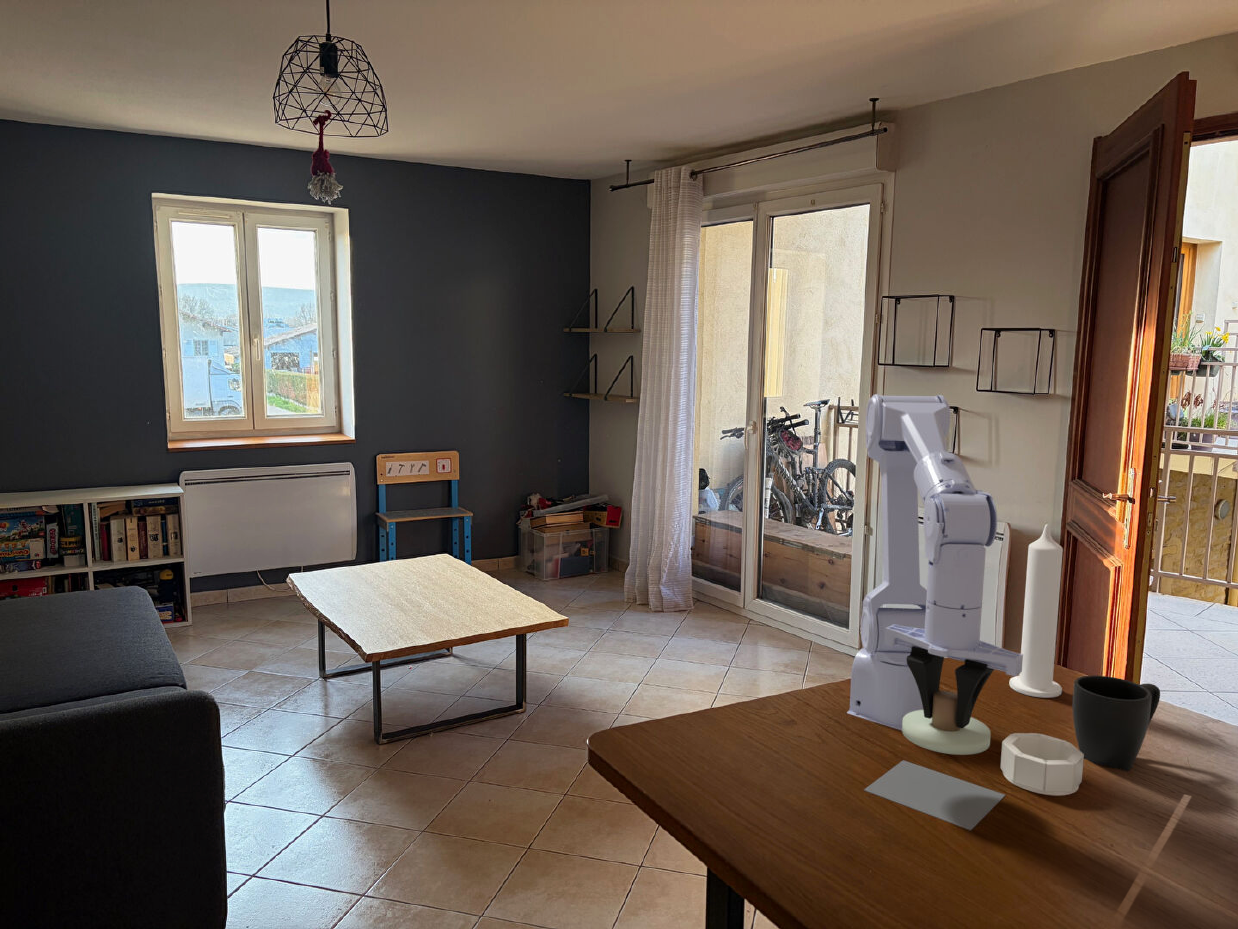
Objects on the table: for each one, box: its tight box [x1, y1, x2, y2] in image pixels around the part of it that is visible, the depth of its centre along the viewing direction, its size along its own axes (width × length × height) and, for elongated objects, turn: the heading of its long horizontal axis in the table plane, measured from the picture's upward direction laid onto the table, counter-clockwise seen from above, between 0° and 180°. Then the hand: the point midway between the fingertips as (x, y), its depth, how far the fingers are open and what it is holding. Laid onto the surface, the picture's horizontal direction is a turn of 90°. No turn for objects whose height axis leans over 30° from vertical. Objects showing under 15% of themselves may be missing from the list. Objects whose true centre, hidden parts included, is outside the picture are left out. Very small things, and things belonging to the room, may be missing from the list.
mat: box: [863, 759, 1006, 831], centre depth 98 cm, size 12×10×1 cm
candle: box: [1008, 524, 1064, 699], centre depth 129 cm, size 7×7×25 cm
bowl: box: [1000, 732, 1085, 796], centre depth 101 cm, size 8×8×4 cm
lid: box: [901, 690, 992, 756], centre depth 97 cm, size 9×9×5 cm
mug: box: [1072, 675, 1161, 772], centre depth 107 cm, size 8×12×10 cm
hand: (946, 720), depth 97 cm, fingers closed on lid, 3 cm apart
